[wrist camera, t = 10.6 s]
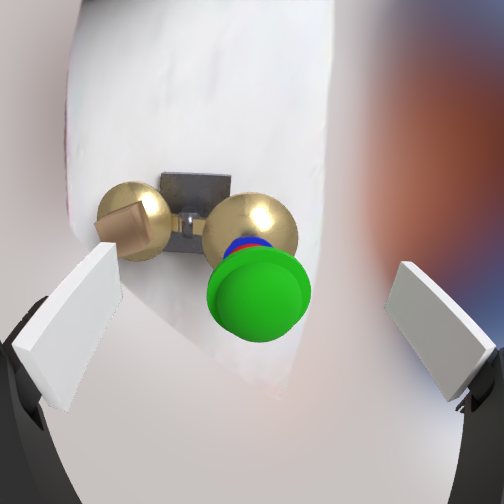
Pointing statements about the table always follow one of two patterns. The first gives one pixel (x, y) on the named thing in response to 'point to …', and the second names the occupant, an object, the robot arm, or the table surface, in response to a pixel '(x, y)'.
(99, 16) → the table surface
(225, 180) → the balance
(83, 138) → the table surface
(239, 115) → the table surface
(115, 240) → the walnut block
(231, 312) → the toy
